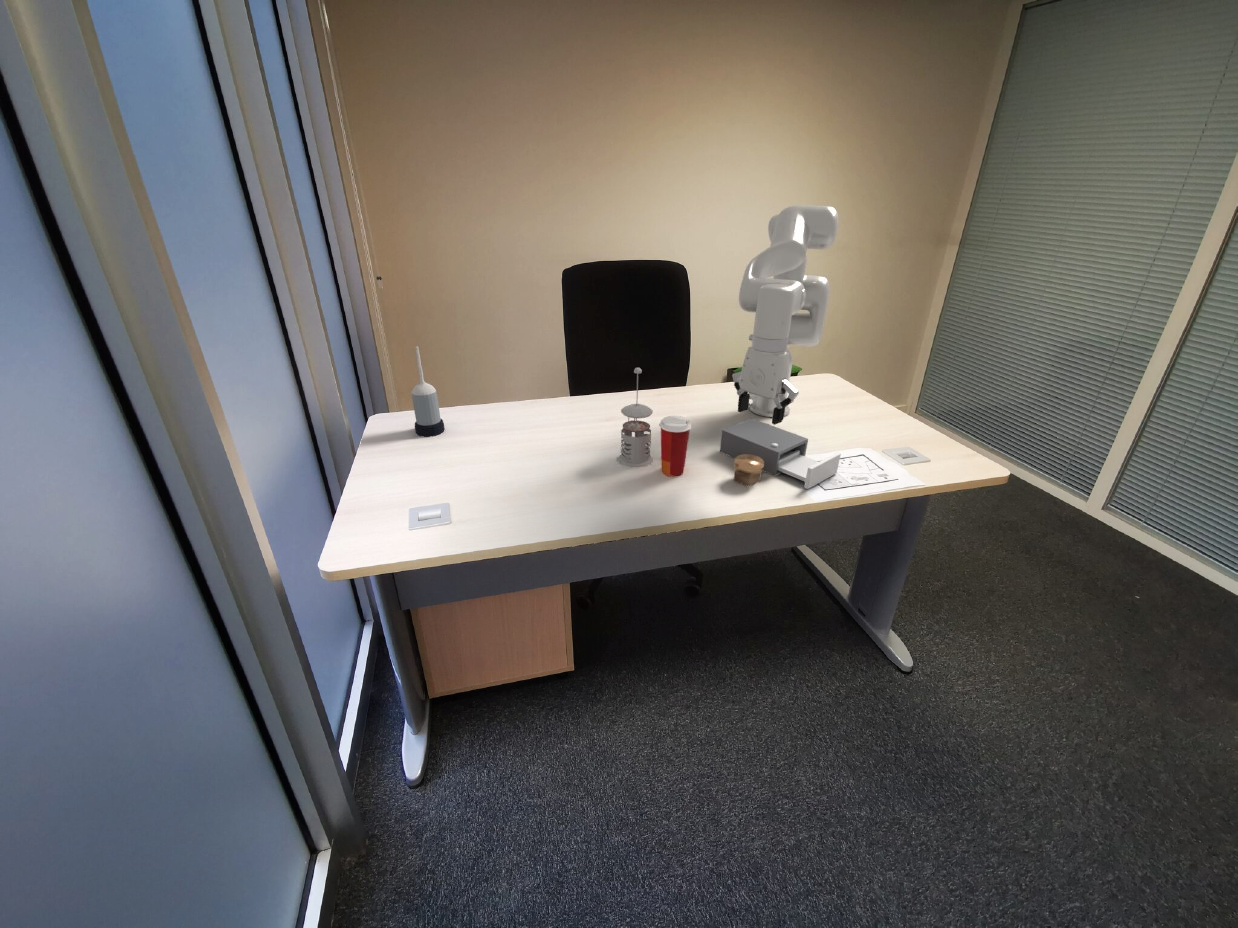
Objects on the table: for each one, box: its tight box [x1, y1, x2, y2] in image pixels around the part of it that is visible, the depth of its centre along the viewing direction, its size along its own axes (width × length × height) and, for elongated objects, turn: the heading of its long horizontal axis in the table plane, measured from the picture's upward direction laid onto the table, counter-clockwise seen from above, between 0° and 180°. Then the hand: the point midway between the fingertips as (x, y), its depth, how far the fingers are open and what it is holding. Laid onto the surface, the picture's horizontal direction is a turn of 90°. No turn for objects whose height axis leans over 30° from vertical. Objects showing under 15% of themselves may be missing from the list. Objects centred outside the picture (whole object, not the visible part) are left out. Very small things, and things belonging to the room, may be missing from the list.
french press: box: [616, 367, 655, 469], centre depth 138 cm, size 10×12×25 cm
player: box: [719, 418, 809, 477], centre depth 144 cm, size 18×13×7 cm
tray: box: [778, 450, 841, 490], centre depth 138 cm, size 18×13×5 cm
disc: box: [733, 454, 764, 475], centre depth 131 cm, size 7×7×2 cm
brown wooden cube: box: [733, 469, 762, 488], centre depth 132 cm, size 4×4×4 cm
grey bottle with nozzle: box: [411, 346, 446, 438], centre depth 153 cm, size 8×8×25 cm
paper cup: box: [658, 415, 692, 478], centre depth 134 cm, size 8×8×14 cm
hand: (759, 416), depth 126 cm, fingers open, 9 cm apart
